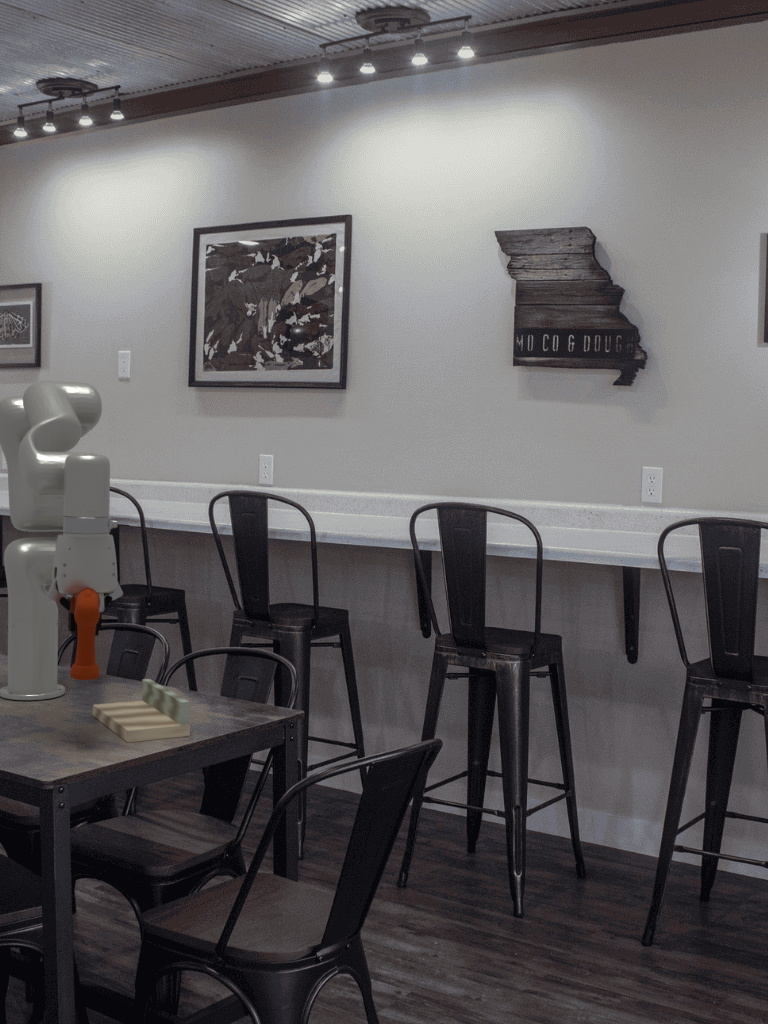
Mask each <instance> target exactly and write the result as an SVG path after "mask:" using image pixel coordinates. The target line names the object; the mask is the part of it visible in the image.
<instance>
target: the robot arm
mask: <svg viewBox="0 0 768 1024" xmlns="http://www.w3.org/2000/svg"><path fill="white" fill-rule="evenodd" d="M102 411H103V404H102V398H101V395H100V393H99V392H98V389H97V388H96V387H94V385H91V384H90V383H87V382H75V381H74V382H73V381H58V380H42V381H37V382H34V383H32V384H30V385H29V386H28V387H27V388H26V389H25V390H24V393H23V394H22V395H13V396H8V397H5V398H3V399H1V400H0V448H1V451H2V453H3V456H4V459H5V461H6V466H7V467H6V469H7V483H8V484H7V486H8V505H9V506H8V508H9V517H10V522H11V524H12V525H13V528H15V529H16V530H19V531H22V532H32V533H33V532H34V533H35V532H37V533H38V532H39V533H41V532H45V533H47V532H48V533H50V532H53V533H54V532H63V533H62V534H58V535H57V537H51V536H49V537H47V536H45V537H38V536H37V537H23V538H18V539H16V540H13V541H12V542H10V543H9V544H8V545H7V546H6V547H5V550H4V553H3V564H4V571H5V578H6V585H7V597H8V598H7V601H8V602H7V604H8V607H7V609H8V610H7V611H8V614H7V615H8V617H7V619H8V620H7V621H8V622H7V623H8V624H7V625H8V628H7V630H8V632H7V685H6V686H3V687H1V688H0V697H1V698H2V699H6V700H13V701H39V700H41V701H42V700H48V699H55V698H58V697H61V696H63V695H64V694H66V687H65V686H64V685H62V684H59V683H58V661H59V660H58V659H59V658H58V647H59V643H58V642H59V608H58V605H57V603H58V604H60V606H62V607H63V609H65V611H67V612H68V613H67V617H68V620H67V622H68V623H67V624H68V625H67V629H68V632H70V634H71V636H73V637H75V638H78V635H77V623H76V621H75V618H74V612H75V598H76V595H77V594H78V593H79V592H80V591H82V590H83V589H86V588H91V589H93V590H95V591H96V592H97V593H98V594H99V596H100V608H99V610H100V618H99V621H98V623H97V624H96V632H95V637H96V636H99V634H100V633H99V631H100V630H102V622H103V618H102V615H103V613H102V612H104V611H105V609H106V608H107V607H108V605H109V604H111V603H112V601H116V600H117V599H119V598H121V597H122V596H123V595H124V591H123V590H122V588H121V585H120V582H119V581H118V567H117V566H118V564H117V563H118V562H117V554H116V546H115V541H114V536H113V534H110V533H111V530H112V529H117V528H118V525H119V523H118V520H113V519H111V516H110V505H111V504H110V498H111V497H110V496H111V495H110V494H111V490H110V489H111V487H110V486H111V463H110V460H109V458H108V457H107V456H105V455H103V454H98V453H94V452H73V451H70V450H72V449H74V448H75V447H76V446H77V445H78V443H79V441H81V438H84V437H85V436H86V435H87V434H88V433H89V432H90V431H91V430H93V428H96V426H97V425H98V423H99V422H100V419H101V417H102ZM46 586H50V587H49V589H48V591H47V589H46V588H45V587H46ZM59 593H60V594H63V595H66V597H64V596H63V595H60V594H59Z"/></svg>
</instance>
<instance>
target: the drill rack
mask: <svg viewBox="0 0 768 1024" xmlns="http://www.w3.org/2000/svg"><path fill="white" fill-rule="evenodd" d="M141 682H142V683H141V700H140V699H139V700H131V701H119V702H107V703H98V704H97V703H96V704H95V703H94V704H92V716H93V717H94V718H95V719H96V720H98V721H99V722H101V723H102V724H103V725H104V726H106V728H107V727H108V728H109V729H110V730H111V731H112V732H114V733H115V734H117V736H118V737H120V738H121V739H123V740H124V741H125V742H126V743H136V742H146V741H154V740H165V739H174V738H184V737H190V736H191V724H190V701H189V700H188V699H185V698H183V697H182V696H180V695H179V694H177V693H175V692H173V691H172V690H170V689H168V688H166V687H165V686H163V685H162V684H159V683H157V682H155V681H154V680H152V679H150V678H144V679H142V680H141Z"/></svg>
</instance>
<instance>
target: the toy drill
mask: <svg viewBox="0 0 768 1024" xmlns="http://www.w3.org/2000/svg"><path fill="white" fill-rule="evenodd" d="M99 608H100V596H99V594H98V593H97V592H96V591H95V590H93V589H91V588H86V589H83V590H82V591H80V592H79V593H78V594H77V595H76V598H75V612H74V618H75V621H76V623H77V635H78V637H77V642H76V643H77V644H76V652H75V659H74V663H73V664H72V665H71V667H70V670H69V676H70V678H71V679H73V680H76V681H93V680H97V679H98V678H100V676H101V669H100V666H99V665H98V664H99V663H97V662H96V661H97V659H96V636H95V632H96V624H97V623H98V621H99V618H100V610H99Z"/></svg>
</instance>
